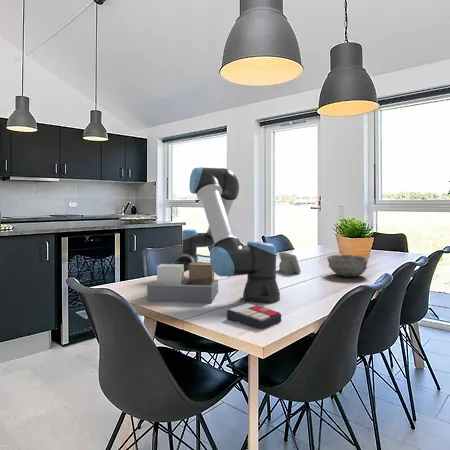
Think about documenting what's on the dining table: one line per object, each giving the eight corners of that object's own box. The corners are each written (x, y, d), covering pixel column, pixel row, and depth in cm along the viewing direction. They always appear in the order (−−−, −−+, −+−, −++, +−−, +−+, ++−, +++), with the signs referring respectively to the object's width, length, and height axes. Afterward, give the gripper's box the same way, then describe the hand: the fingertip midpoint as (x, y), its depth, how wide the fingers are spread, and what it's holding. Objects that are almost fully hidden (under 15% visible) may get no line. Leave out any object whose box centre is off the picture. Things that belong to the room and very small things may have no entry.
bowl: (354, 282, 186) (354, 262, 186) (318, 275, 202) (319, 257, 201) (375, 276, 200) (375, 257, 199) (340, 271, 215) (340, 253, 215)
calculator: (261, 319, 119) (226, 307, 129) (261, 332, 119) (226, 320, 129) (282, 311, 127) (247, 301, 137) (281, 324, 127) (246, 312, 137)
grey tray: (211, 303, 149) (211, 286, 149) (147, 301, 153) (147, 285, 152) (218, 292, 167) (218, 277, 167) (160, 290, 170) (160, 276, 170)
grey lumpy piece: (301, 274, 206) (302, 254, 205) (285, 275, 204) (286, 255, 204) (291, 269, 222) (291, 250, 221) (276, 269, 220) (276, 251, 220)
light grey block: (180, 293, 158) (180, 266, 157) (157, 292, 159) (156, 266, 159) (184, 289, 164) (183, 264, 163) (161, 289, 165) (161, 263, 164)
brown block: (212, 290, 162) (211, 265, 162) (189, 289, 164) (188, 264, 163) (214, 287, 168) (214, 262, 168) (191, 286, 170) (191, 262, 169)
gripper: (198, 270, 188) (187, 280, 165) (172, 270, 190) (158, 280, 167) (198, 255, 188) (187, 263, 165) (172, 255, 189) (158, 263, 166)
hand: (173, 271), depth 166 cm, fingers closed
